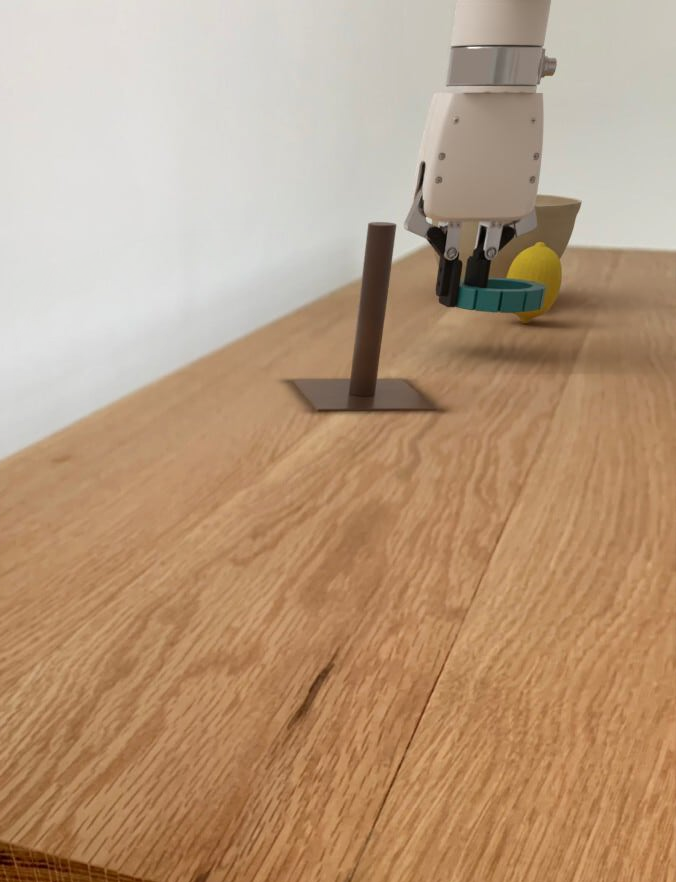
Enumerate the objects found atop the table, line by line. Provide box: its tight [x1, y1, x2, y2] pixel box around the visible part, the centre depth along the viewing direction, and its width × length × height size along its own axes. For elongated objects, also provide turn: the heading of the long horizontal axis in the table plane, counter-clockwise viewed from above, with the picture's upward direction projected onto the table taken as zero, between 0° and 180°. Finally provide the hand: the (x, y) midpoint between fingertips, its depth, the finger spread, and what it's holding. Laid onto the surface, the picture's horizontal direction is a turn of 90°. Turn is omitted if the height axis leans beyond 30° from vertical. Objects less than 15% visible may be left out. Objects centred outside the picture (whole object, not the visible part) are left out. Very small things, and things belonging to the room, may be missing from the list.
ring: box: [453, 277, 547, 314], centre depth 102 cm, size 8×8×2 cm
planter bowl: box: [431, 193, 583, 279], centre depth 127 cm, size 16×16×11 cm
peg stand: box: [292, 221, 437, 413], centre depth 83 cm, size 9×9×14 cm
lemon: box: [507, 242, 563, 324], centre depth 116 cm, size 6×6×8 cm
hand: (458, 303), depth 103 cm, fingers closed on ring, 1 cm apart
